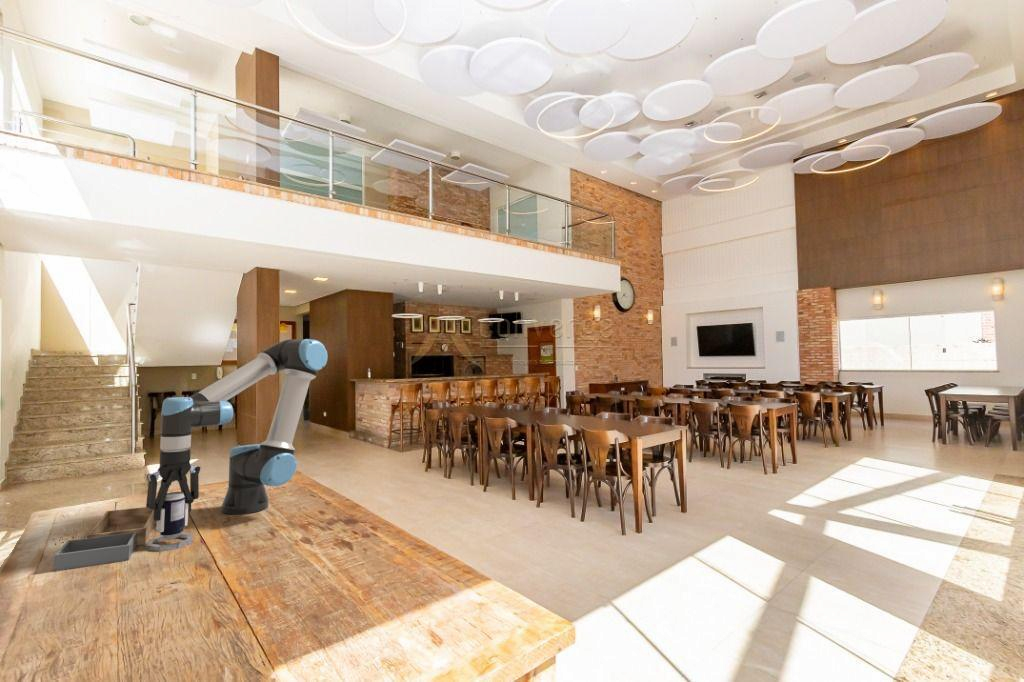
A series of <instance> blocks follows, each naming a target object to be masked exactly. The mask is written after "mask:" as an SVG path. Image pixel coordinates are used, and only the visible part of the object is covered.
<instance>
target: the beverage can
mask: <svg viewBox="0 0 1024 682" xmlns="http://www.w3.org/2000/svg"><path fill="white" fill-rule="evenodd" d="M184 507H185V496H184V493H183V492H181V491H173V492H167V495H166V497H165V500H164V503H163V506H162V508H163V509H165V516H164V532H159V535H160V536H161V535H163V537H174V536H177V535H179V534H180V533H181V532H184V529H185V528H184Z"/></svg>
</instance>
